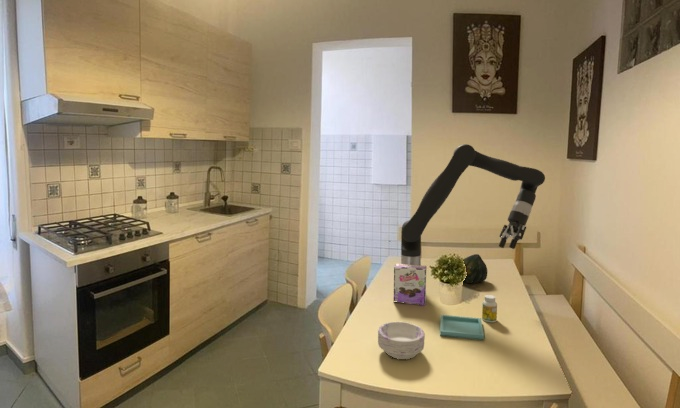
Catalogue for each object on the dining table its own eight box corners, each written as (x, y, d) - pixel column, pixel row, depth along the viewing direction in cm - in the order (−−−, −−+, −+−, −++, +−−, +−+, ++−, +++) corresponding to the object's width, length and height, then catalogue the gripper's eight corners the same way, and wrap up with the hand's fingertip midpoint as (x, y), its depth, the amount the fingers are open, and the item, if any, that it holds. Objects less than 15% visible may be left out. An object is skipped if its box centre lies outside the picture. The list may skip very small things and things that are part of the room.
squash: (446, 269, 208) (465, 251, 200) (462, 265, 218) (480, 247, 210) (464, 293, 201) (484, 275, 193) (479, 287, 211) (499, 270, 203)
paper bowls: (432, 360, 131) (433, 337, 130) (388, 368, 126) (389, 344, 125) (411, 339, 145) (411, 318, 144) (371, 345, 141) (371, 323, 140)
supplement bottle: (499, 321, 159) (500, 297, 158) (489, 323, 157) (490, 300, 156) (489, 316, 164) (490, 293, 163) (478, 318, 162) (479, 295, 161)
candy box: (393, 302, 179) (393, 266, 177) (395, 298, 185) (395, 262, 183) (425, 305, 176) (425, 268, 173) (426, 300, 181) (426, 265, 179)
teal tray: (440, 335, 148) (440, 331, 147) (440, 319, 162) (440, 314, 162) (483, 340, 144) (484, 335, 144) (480, 322, 158) (480, 318, 158)
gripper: (503, 210, 183) (490, 243, 181) (521, 208, 169) (507, 244, 167) (518, 217, 184) (504, 250, 182) (537, 216, 170) (523, 252, 168)
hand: (506, 247), depth 175 cm, fingers open, 8 cm apart
